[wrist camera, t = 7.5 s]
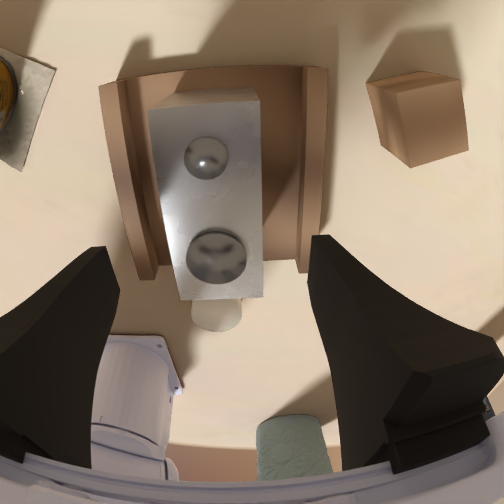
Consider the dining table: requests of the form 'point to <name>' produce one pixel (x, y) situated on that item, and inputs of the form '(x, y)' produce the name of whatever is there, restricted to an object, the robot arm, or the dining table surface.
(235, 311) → the plastic cap
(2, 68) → the condiment
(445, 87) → the walnut block
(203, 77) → the stand
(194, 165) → the block
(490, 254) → the dining table surface
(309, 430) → the green embossed planter
